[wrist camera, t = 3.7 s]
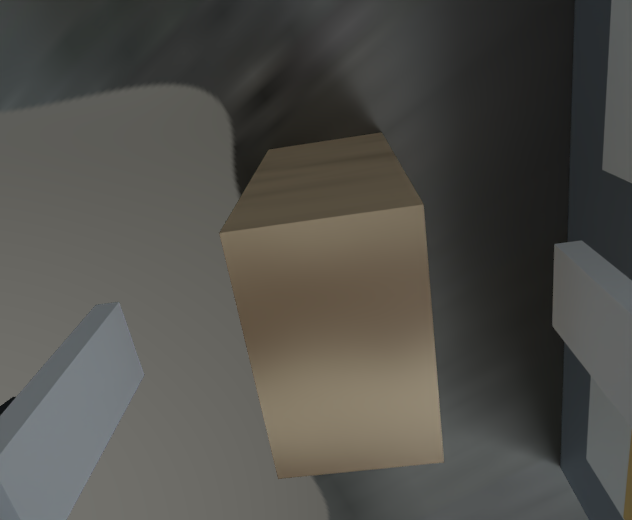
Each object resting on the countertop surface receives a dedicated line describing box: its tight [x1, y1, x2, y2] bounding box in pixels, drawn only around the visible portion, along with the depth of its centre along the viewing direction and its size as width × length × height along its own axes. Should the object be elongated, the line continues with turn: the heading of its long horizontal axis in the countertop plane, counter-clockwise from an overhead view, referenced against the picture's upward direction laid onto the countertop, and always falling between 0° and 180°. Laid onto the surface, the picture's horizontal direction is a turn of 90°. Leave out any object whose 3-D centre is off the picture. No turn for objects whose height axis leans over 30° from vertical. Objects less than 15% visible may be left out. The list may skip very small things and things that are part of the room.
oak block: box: [219, 132, 444, 479], centre depth 19 cm, size 8×5×11 cm, turn 9°
